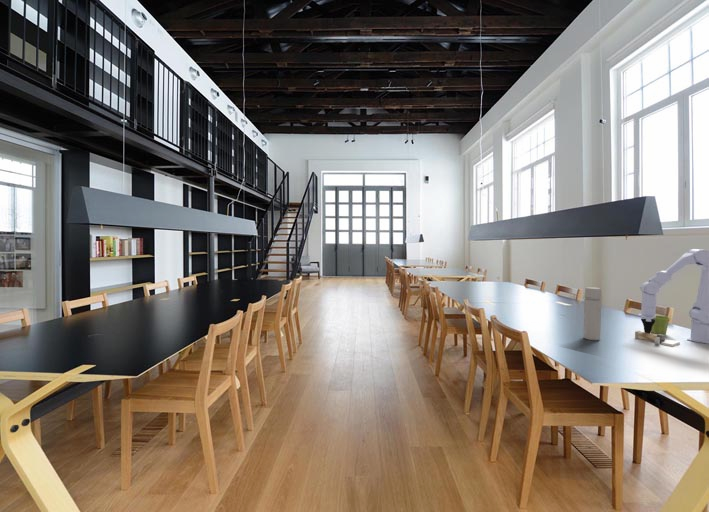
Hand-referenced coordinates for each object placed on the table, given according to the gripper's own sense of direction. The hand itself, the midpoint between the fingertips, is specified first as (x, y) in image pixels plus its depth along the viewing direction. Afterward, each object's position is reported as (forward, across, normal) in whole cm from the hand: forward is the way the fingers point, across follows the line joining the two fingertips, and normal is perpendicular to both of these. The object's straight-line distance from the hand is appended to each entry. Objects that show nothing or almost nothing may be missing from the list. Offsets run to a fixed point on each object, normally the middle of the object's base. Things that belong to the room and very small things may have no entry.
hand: (647, 333), depth 194 cm
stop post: (+2, +15, +3) cm, 15 cm away
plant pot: (+2, -13, +5) cm, 14 cm away
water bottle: (+2, +19, -23) cm, 30 cm away
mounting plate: (+2, +9, +8) cm, 13 cm away
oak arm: (+2, +6, +1) cm, 7 cm away
